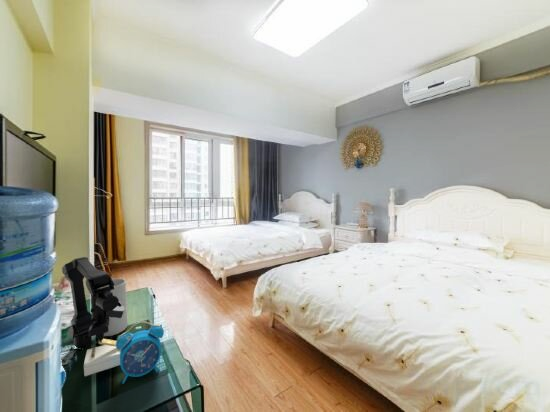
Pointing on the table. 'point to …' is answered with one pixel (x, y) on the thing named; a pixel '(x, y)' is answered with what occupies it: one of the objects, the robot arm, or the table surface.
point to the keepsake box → (101, 359)
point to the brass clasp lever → (107, 342)
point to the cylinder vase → (120, 292)
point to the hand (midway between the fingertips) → (101, 339)
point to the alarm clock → (140, 350)
